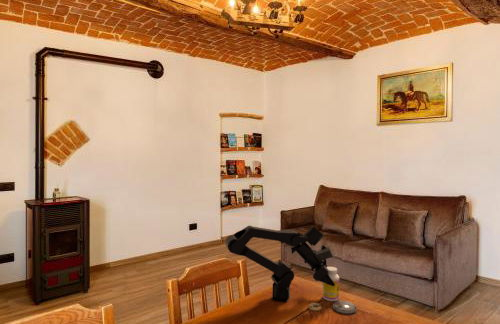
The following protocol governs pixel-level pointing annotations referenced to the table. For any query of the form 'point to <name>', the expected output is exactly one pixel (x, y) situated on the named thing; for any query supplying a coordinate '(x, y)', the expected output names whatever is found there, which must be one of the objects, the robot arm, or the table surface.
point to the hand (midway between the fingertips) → (333, 281)
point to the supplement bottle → (331, 291)
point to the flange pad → (344, 307)
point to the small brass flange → (315, 307)
